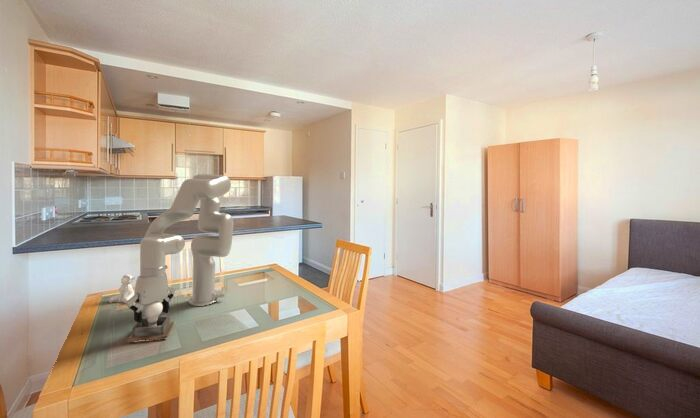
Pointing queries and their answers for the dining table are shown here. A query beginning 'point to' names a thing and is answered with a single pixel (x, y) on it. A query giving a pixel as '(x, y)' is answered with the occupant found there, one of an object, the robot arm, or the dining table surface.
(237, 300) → the dining table surface
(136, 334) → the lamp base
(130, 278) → the sitting furry creature
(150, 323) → the lightbulb
